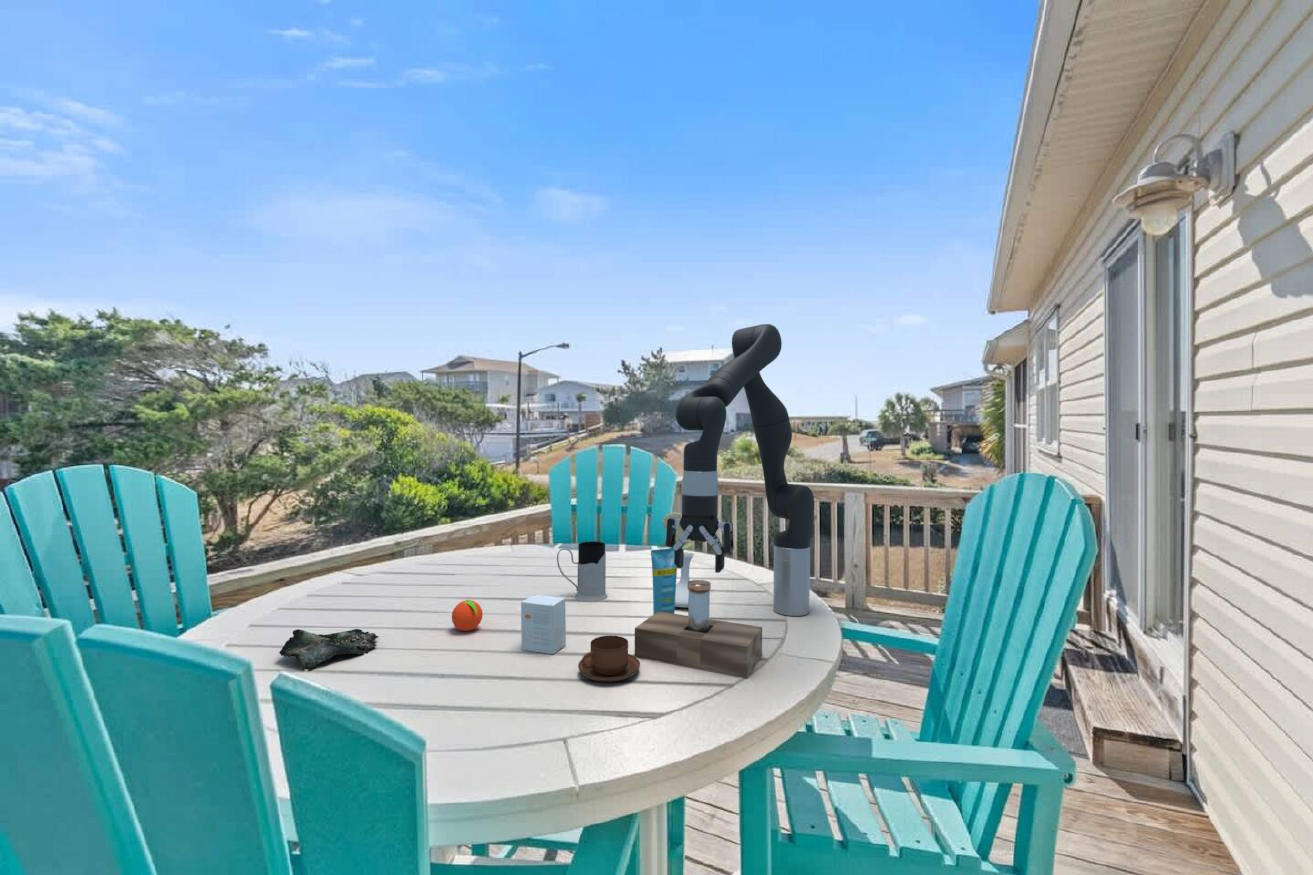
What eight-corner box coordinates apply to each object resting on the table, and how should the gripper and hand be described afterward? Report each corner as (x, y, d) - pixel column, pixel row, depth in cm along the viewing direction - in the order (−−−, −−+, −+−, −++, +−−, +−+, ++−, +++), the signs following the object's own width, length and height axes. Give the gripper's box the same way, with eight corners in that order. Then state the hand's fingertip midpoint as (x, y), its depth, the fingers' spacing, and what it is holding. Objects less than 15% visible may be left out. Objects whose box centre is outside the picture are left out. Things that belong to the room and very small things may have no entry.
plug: (691, 644, 121) (692, 578, 121) (713, 648, 119) (713, 581, 119) (683, 652, 117) (684, 584, 117) (705, 656, 115) (706, 587, 115)
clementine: (490, 631, 132) (490, 600, 132) (463, 639, 127) (463, 607, 127) (473, 622, 137) (473, 593, 137) (446, 630, 132) (446, 600, 132)
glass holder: (605, 602, 155) (605, 547, 154) (553, 601, 155) (553, 547, 154) (608, 592, 163) (608, 541, 163) (559, 592, 163) (559, 540, 163)
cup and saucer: (616, 693, 102) (616, 659, 102) (565, 677, 108) (565, 645, 108) (651, 669, 112) (651, 638, 112) (603, 656, 118) (603, 627, 118)
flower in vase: (713, 602, 154) (713, 511, 154) (693, 614, 145) (693, 517, 144) (672, 595, 161) (672, 508, 161) (650, 605, 152) (651, 512, 151)
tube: (656, 634, 130) (657, 551, 130) (645, 628, 135) (646, 547, 134) (682, 628, 135) (683, 548, 134) (671, 622, 139) (671, 544, 138)
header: (657, 637, 129) (658, 611, 128) (761, 655, 119) (762, 627, 119) (634, 656, 118) (634, 628, 118) (746, 678, 108) (747, 647, 108)
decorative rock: (349, 615, 132) (397, 618, 126) (349, 641, 131) (397, 646, 125) (266, 637, 114) (317, 642, 108) (265, 668, 114) (317, 675, 108)
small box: (566, 645, 124) (566, 597, 123) (553, 655, 118) (553, 605, 118) (534, 640, 126) (534, 594, 126) (520, 650, 121) (520, 601, 121)
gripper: (737, 492, 118) (736, 569, 118) (675, 488, 124) (674, 562, 124) (727, 496, 111) (726, 577, 112) (661, 492, 117) (660, 569, 117)
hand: (698, 569), depth 118 cm, fingers open, 8 cm apart
